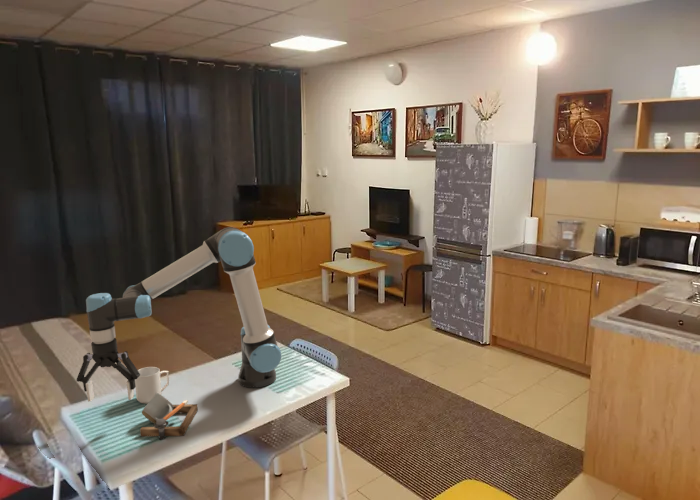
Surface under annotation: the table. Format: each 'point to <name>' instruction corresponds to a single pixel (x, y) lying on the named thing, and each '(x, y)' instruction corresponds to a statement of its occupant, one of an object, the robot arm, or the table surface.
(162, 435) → the dark grey ring
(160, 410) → the ceramic mug
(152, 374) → the mug
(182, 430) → the brown wooden flat frame
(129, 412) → the table surface
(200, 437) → the table surface
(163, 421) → the orange long spoon
